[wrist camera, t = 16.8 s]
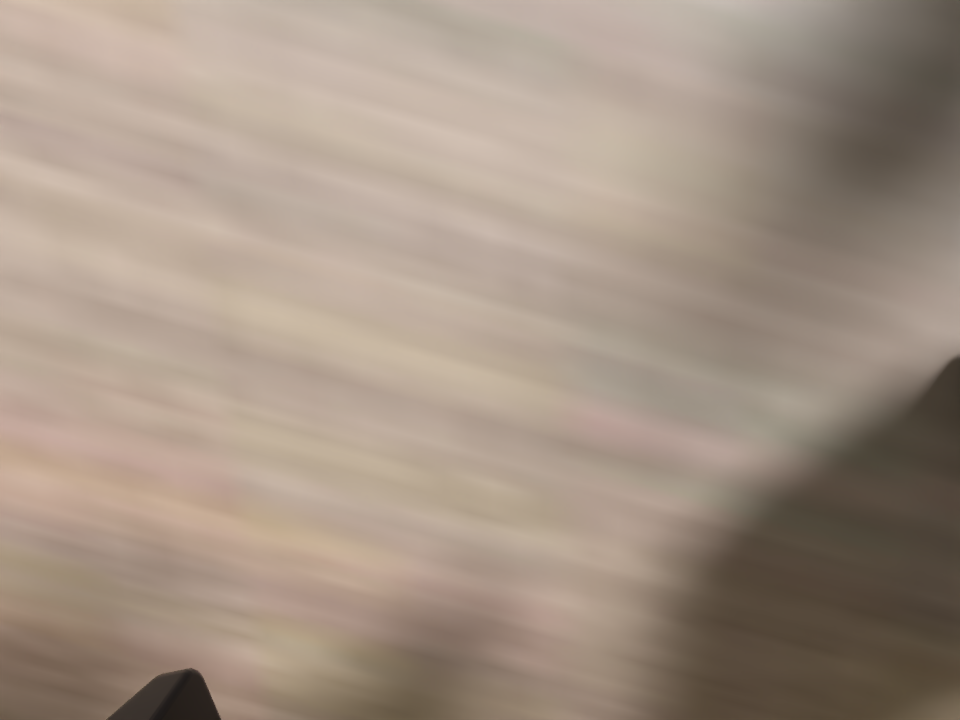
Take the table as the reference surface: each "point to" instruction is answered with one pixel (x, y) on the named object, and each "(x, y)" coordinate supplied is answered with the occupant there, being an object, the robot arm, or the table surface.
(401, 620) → the table surface
